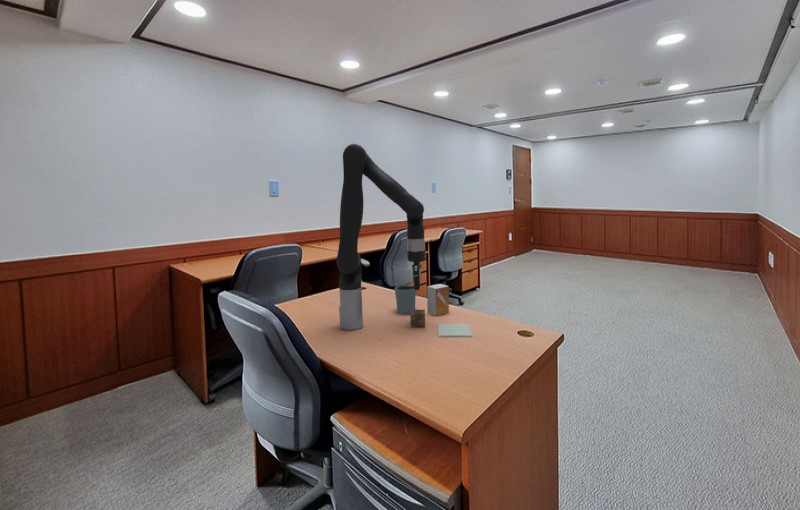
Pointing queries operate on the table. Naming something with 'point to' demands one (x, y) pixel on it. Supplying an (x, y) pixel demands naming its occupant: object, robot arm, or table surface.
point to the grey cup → (405, 299)
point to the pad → (454, 330)
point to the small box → (438, 299)
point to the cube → (417, 318)
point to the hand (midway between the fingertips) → (417, 287)
